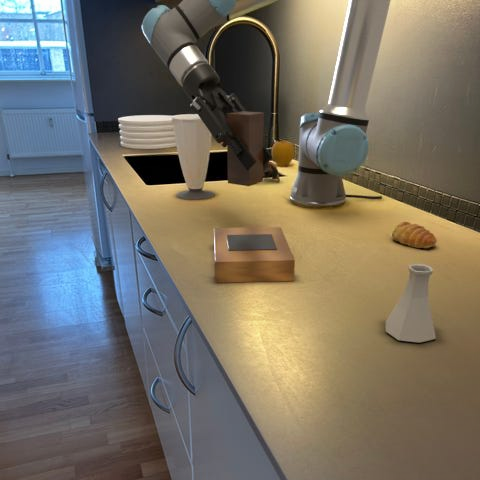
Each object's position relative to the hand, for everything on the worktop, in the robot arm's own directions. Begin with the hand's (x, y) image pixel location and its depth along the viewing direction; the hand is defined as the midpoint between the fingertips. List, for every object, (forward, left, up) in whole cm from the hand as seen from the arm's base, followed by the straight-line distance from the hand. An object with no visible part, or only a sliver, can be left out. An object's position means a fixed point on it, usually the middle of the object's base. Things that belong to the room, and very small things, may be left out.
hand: (259, 163), depth 107 cm
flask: (-18, +46, -16) cm, 52 cm away
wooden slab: (+3, +16, -16) cm, 23 cm away
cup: (+15, -40, -16) cm, 46 cm away
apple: (-16, -86, -16) cm, 89 cm away
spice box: (+3, -2, -4) cm, 6 cm away
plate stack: (+38, -142, -16) cm, 148 cm away
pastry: (-33, +6, -16) cm, 37 cm away
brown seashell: (-7, -58, -16) cm, 61 cm away
